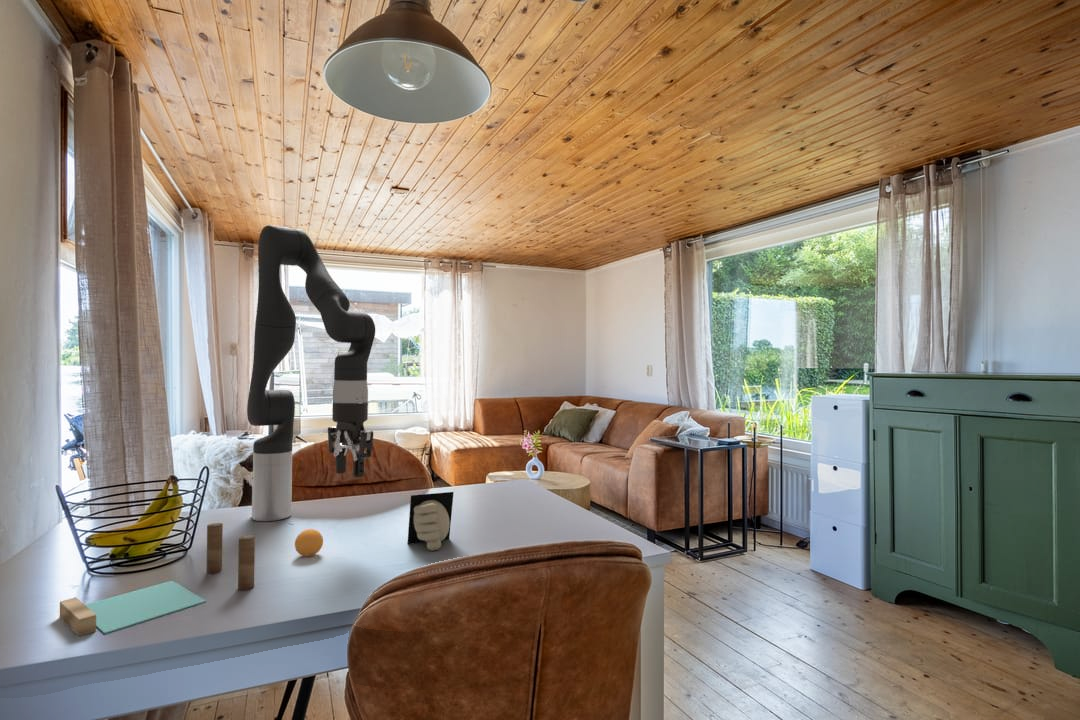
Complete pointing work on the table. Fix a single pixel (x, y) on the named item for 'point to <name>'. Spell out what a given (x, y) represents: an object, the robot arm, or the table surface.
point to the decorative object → (430, 519)
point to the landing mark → (141, 605)
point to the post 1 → (214, 548)
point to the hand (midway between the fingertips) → (349, 474)
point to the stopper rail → (78, 616)
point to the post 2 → (246, 562)
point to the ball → (308, 542)
